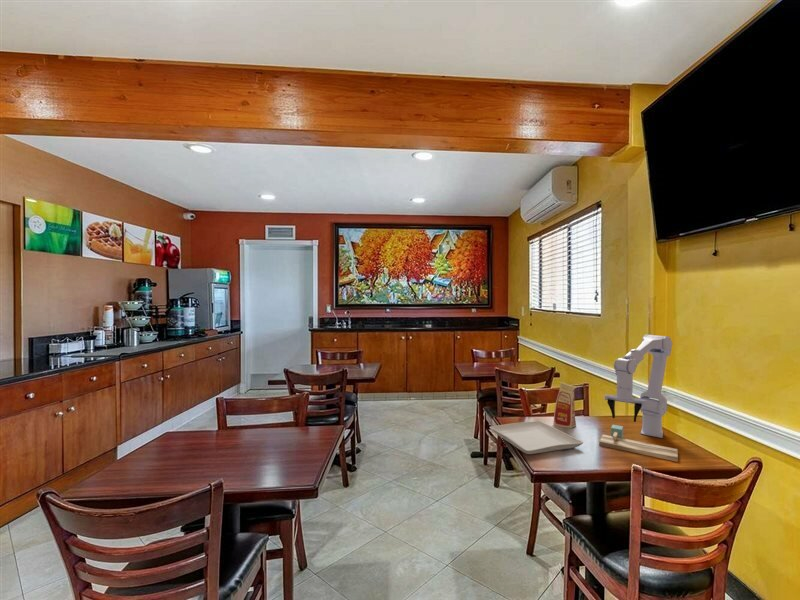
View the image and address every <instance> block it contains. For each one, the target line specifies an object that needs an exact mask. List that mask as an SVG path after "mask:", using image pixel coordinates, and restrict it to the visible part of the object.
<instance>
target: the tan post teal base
mask: <svg viewBox="0 0 800 600" xmlns="http://www.w3.org/2000/svg"><path fill="white" fill-rule="evenodd" d="M610 436H613V439H614V440H616V438H617V437H618V438H624V426H623V425H617V424H616V425H615V424H612V425H611V427H610Z"/></svg>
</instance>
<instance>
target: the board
mask: <svg viewBox="0 0 800 600" xmlns="http://www.w3.org/2000/svg"><path fill="white" fill-rule="evenodd" d="M598 444H599V446H601V447H606V448H611V449H616V450H620V451H626V452H628V453H629V452H630V453H635V454H638V455H644V456H648V457H653V458H658V459H662V460H663V459H664V460H667V461H673V462H677V463H678V460H679V455H678V451H679V450H678V448H673V447H669V446H663V445H659V444H658V445H657V444H653V443H648V442H645V441H638V440H634V439H633V440H632V439H628V438H624V437H623V438H618V437H617V438H616V440H614V439H613V436H611V435H608V434H602V435H601V438H600V439H599V441H598Z"/></svg>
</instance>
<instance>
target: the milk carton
mask: <svg viewBox="0 0 800 600" xmlns="http://www.w3.org/2000/svg"><path fill="white" fill-rule="evenodd" d="M559 383H560V386H559V390H558V394H557V398H556V400H555V406H554V414H553V422H552V423H553V426H557V427H561V428H567V429H572V428H574V427H576V426H577V423H576V412H575V410H576V409H575V389H576V388H577V386H574V385H570V384H567V383H565V382H562V381H560V382H559Z"/></svg>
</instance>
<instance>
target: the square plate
mask: <svg viewBox="0 0 800 600" xmlns="http://www.w3.org/2000/svg"><path fill="white" fill-rule="evenodd" d="M489 429H490V430H491V431H492V432H493V433H494V434H495V435H497V436H498V437H499V438H502V439H503V440H504V441H506V442H507V443H509V444H511V445H512V446H513V447H515V448H516V449H518V450H519V451H521V452H523V453H524V454H526V455H534V454H540V453H541V454H542V453H547V452H553V451H560V450H561V451H562V450H568V449H574V448H578V447H580V446H581V445H583V444H584V442H583V441H582V440H580V439H577V438H575V437H574V436H572V435H570V434H568V433H566V432H565V431H562V430H560V429H557V427H556V428H555V427H554V426H551V425H549V424H547V423H545V422H542V421H539V420H536V421H525V422H524V421H523V422H514V423H505V424H499V425H491V426H489Z"/></svg>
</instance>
